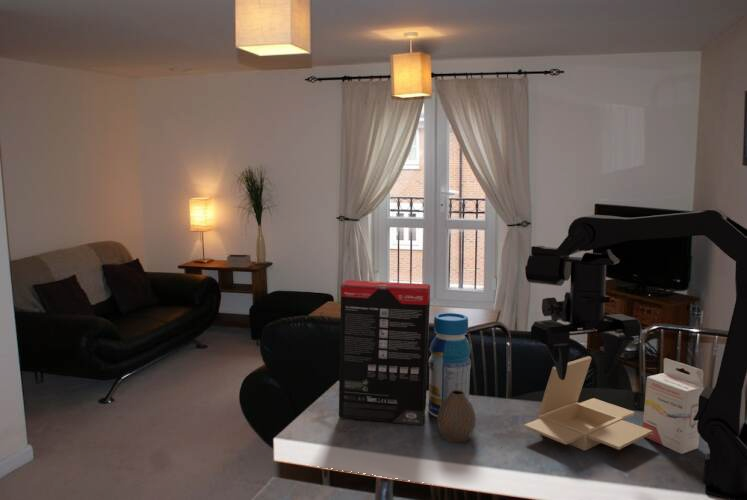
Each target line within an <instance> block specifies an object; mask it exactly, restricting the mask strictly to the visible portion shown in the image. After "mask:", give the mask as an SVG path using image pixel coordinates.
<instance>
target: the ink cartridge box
mask: <svg viewBox="0 0 747 500" xmlns="http://www.w3.org/2000/svg"><path fill="white" fill-rule="evenodd" d="M677 369H680V370H681V369H683V370H684V371H685V372H688V373H689V374H687V373H684V372H681V371H679V370H677ZM704 388H705V386H704V370H702V369H701V368H698V367H694V366H692V365H688V364H686V363H682V362H678V361H677V360H672V359H669V358H667V357H664V358H663V373H658V374H657V373H656V374H653V375H649V376H647V377H646V383H645V396H644V407H643V409H644V410H643V419H642V420H643V421H642V427H643V428H646V429H649V430H652V434H650V435H648V436H646V437H645V438H646V439H649V440H650V441H652V442H655V443H657V444H659V445H662V446H663V447H666V448H668V449H670V450H672V451H673V452H676V453H679V454H681V455H683V454H685V453H688V452H691V451H694V450H697V449H698V448H699V445H700V444H699V443H700V442H699V441H700V434H699V433H698V430H697V423H698V420H697V421H694V420H693V419H694V417H695V415H696V413H697V412H698V404H699V396H700V394H701V392H702V391H703V389H704Z"/></svg>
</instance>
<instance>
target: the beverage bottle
mask: <svg viewBox="0 0 747 500" xmlns="http://www.w3.org/2000/svg"><path fill="white" fill-rule="evenodd" d="M433 319H434V320H433V331H434V333H435V334H436V335H435V336H434V338H433V339H432V341H431V343H430V346H429V352H430V356H429V357H428V367H429V368H428V369H429V370H428V375H429V376H428V380H429V381H428V407H427V410H428V412H429V414H431V416H433V417H435V418H437V419H438V412H439V409H440V407H441V405H442V403H443V402H444V401H445V400H446V399H447V398H448V396H449V395H450V393H451V391H453V390H461V391H463V392H464V394H465V396H466V398H467V399H468V401H469V402H470V381H471V380H470V379H471V367H472V360H471V358H470V356H471V355H470V354H471V353H472V349H471V345H470V342H469V341H468V338H467V337H466V336H465V335H467V334H468V333H469V318H468V316H466V315H465V314H462V313H456V312H444V313H438V314H435V315H434V318H433Z"/></svg>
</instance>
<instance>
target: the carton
mask: <svg viewBox="0 0 747 500" xmlns="http://www.w3.org/2000/svg"><path fill="white" fill-rule="evenodd" d="M634 415H635V411H634V410H630V409H627V408H625V407H621V406H618V405H617V404H613V403H609V402H606V401H603V400H601V399H598V398H596V397H595V398H594V397H593V398H590V399H587V400H584V401H582V402H578V401H577V402H575V403H572V404H569V405H567V406H564V407H561V408H559V409H556V410H554V411H551V412H548V413H546V414H543V415H539V417H538V419H535V420H533V421H532V420H531V421H530V422H528V423H525V424H523V428H525V429H527V430H529V431H532V432H534V433H537V434H539V435H541V436H543V437H546V438H549V439H551V440H554V441H556V442H557V443H558V442H559V443H561V444H564V445H565V446H567V445H570V446H572V447H575V448H577V449H579V450H582V451H584V452H585V451H587V450H589V449H591V448H593V447H596V446H598V445H599V444H600V445H601V444H603V445H606V446H609V447H611V448H613V449H616V450H618V451H620V450H621V449H623V448H625V447H627V446H630V445H631V444H634V443H636V442H638V441H640V440H642V439H643V438H646V436H648V435H650V434H652V430H649V429H646V428H643V426H641V425H637V424H635V423H632V422H629V421H627V420H625V419H627V418H630V417H632V416H634Z"/></svg>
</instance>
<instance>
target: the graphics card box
mask: <svg viewBox="0 0 747 500" xmlns="http://www.w3.org/2000/svg"><path fill="white" fill-rule="evenodd" d="M430 302H431V284H428V283H427V284H426V283H410V282H409V283H408V282H389V281H372V280H370V281H369V280H354V279H353V280H349V279H346V280H345V281H344V282H343V283H341V285H340V329H339V330H340V333H339V336H340V338H339V340H340V344H339V349H340V350H339V381H338V383H339V384H338V386H339V387H338V418H341V419H350V420H351V419H353V420H360V421H361V420H362V421H370V422H371V421H374V422H385V423H394V424H404V425H415V426H416V425H417V426H421V425H423V424H424V420H425V414H426V409H427V408H426V405H427V386H428V382H427V381H428V364H429V337H430V335H429V334H430V332H429V331H430V305H431V303H430Z"/></svg>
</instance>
